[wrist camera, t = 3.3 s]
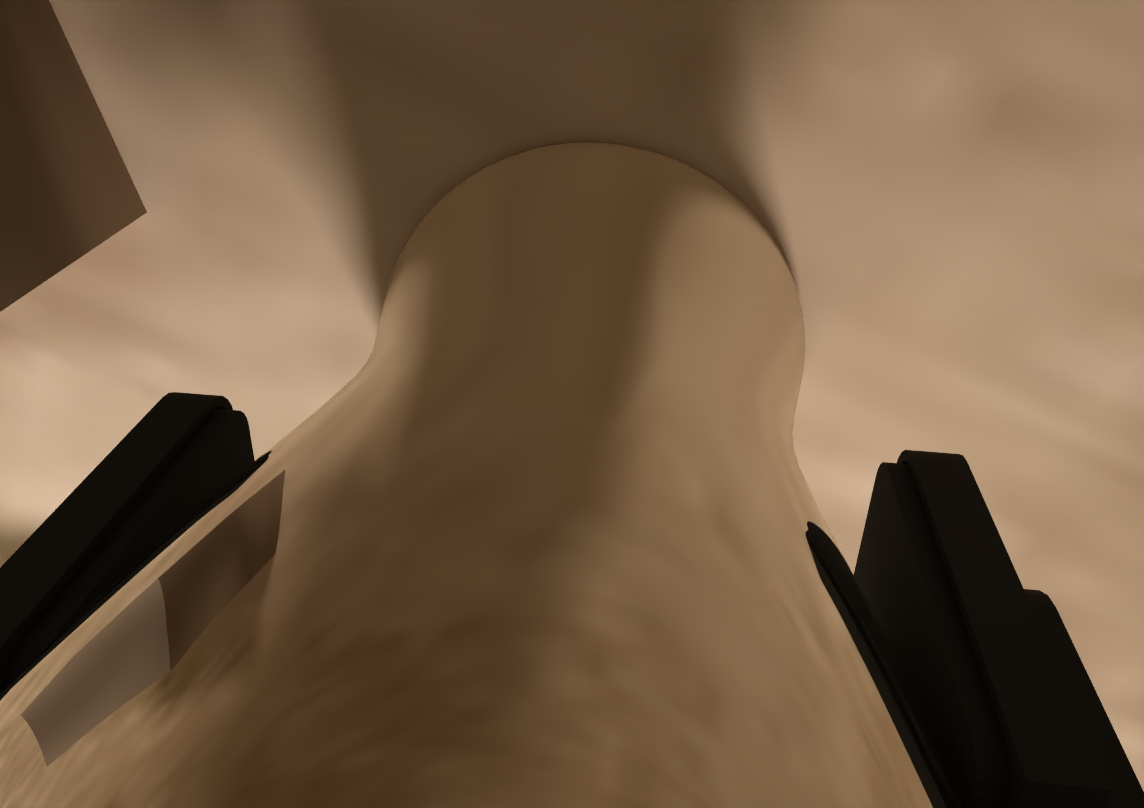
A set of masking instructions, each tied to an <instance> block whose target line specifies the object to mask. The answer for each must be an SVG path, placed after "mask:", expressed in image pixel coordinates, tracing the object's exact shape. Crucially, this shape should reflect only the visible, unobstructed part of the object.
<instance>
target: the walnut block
mask: <svg viewBox="0 0 1144 808" xmlns="http://www.w3.org/2000/svg"><path fill="white" fill-rule="evenodd" d="M145 213H146V210H145V207H144V205H143V203H142V201H141V199H140V197H139V194H138V192H137V190H136V188H135V186H134V184H133V181H132V179H131V177H130V175H129V173H128V171H127V168H126V166H125V164H124V162H123V160H122V158H121V156H120V153H119V151H118V149H117V147H116V145H115V143H114V140H113V138H112V136H111V134H110V132H109V130H108V127H107V125H106V123H105V121H104V119H103V117H102V114H101V112H100V110H99V108H98V106H97V104H96V101H95V99H94V97H93V95H92V93H91V91H90V88H89V86H88V84H87V82H86V80H85V78H84V75H83V73H82V71H81V69H80V67H79V65H78V62H77V60H76V58H75V56H74V54H73V52H72V49H71V47H70V45H69V43H68V41H67V39H66V37H65V34H64V32H63V30H62V28H61V26H60V24H59V21H58V19H57V17H56V15H55V13H54V11H53V8H52V6H51V4H50V2H49V0H0V311H2V310H3V309H5V308H6V307H8V306H9V305H11V304H12V303H14V302H15V301H17V300H18V299H20V298H21V297H23V296H24V295H26V294H27V293H28V292H30V291H31V290H33V289H34V288H36V287H37V286H39V285H40V284H42V283H43V282H45V281H46V280H48V279H49V278H51V277H52V276H54V275H55V274H57V273H58V272H59V271H61V270H62V269H64V268H65V267H67V266H68V265H70V264H71V263H73V262H74V261H76V260H77V259H79V258H80V257H82V256H83V255H85V254H86V253H87V252H89V251H90V250H92V249H93V248H95V247H96V246H98V245H99V244H101V243H102V242H104V241H105V240H107V239H108V238H110V237H111V236H113V235H114V234H116V233H117V232H118V231H120V230H121V229H123V228H124V227H126V226H127V225H129V224H130V223H132V222H133V221H135V220H136V219H138V218H139V217H141V216H142V215H144V214H145Z"/></svg>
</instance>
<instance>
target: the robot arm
mask: <svg viewBox="0 0 1144 808" xmlns="http://www.w3.org/2000/svg"><path fill="white" fill-rule="evenodd" d="M253 462H254V455H253V449H252V443H251V437H250V431H249V425H248V421H247V418H246V416H245V414H244V413H243V412H241V411H235V410H233V409H232V406H231V404H230V402H229V400H228V399H227V398H225V397H223V396H215V395H202V394H190V393H177V392H173V393H168V394H167V395H165V396H164V397H163V398H162V399H161V400H160V401H159V402H158V403H157V404H156V405H155V406H154V407H153V408H152V409H151V410H150V411H149V412H148V413H147V414H146V415H145V416H144V418H143V419H142V420H141V421H140V422H139V423H138V424H137V425H136V426H135V427H134V428H133V429H132V430H131V431H130V432H129V433H128V434H127V435H126V436H125V437H124V439H123V440H122V441H121V442H120V443H119V444H118V445H117V446H116V447H115V448H114V449H113V450H112V451H111V452H110V453H109V454H108V455H107V456H106V457H105V458H104V460H103V461H102V462H101V463H100V464H99V465H98V466H97V467H96V468H95V469H94V470H93V471H92V472H91V473H90V474H89V475H88V476H87V477H86V478H85V479H84V481H83V482H82V483H81V484H80V485H79V486H78V487H77V488H76V489H75V490H74V491H73V492H72V493H71V494H70V495H69V496H68V497H67V498H66V499H65V500H64V501H63V503H62V504H61V505H60V506H59V507H58V508H57V509H56V510H55V511H54V512H53V513H52V514H51V515H50V516H49V517H48V518H47V519H46V520H45V521H44V522H43V524H42V525H41V526H40V527H39V528H38V529H37V530H36V531H35V532H34V533H33V534H32V535H31V536H30V537H29V538H28V539H27V540H26V541H25V542H24V543H23V545H22V546H21V547H20V548H19V549H18V550H17V551H16V552H15V553H14V554H13V555H12V556H11V557H10V558H9V559H8V560H7V561H6V562H5V563H4V564H3V566H2V567H1V568H0V692H1V691H2V690H3V689H4V688H5V687H6V686H7V685H8V684H9V683H10V682H11V681H12V680H13V679H14V678H15V677H16V676H17V675H18V674H19V673H20V672H22V671H23V670H24V669H25V668H26V667H27V666H28V665H29V664H30V663H31V662H32V661H33V660H34V659H35V658H36V657H37V656H38V655H39V654H40V653H41V652H42V651H43V650H45V649H46V648H47V647H48V646H49V645H50V644H51V643H52V642H53V641H54V640H55V639H56V638H57V637H58V636H59V635H60V634H61V633H62V632H63V631H64V630H65V629H66V628H68V627H69V626H70V625H71V624H72V623H73V622H74V621H75V620H76V619H77V618H78V617H79V616H80V615H81V614H82V613H83V612H84V611H85V610H86V609H87V608H88V607H89V606H91V605H92V604H93V603H94V602H95V601H96V600H97V599H98V598H99V597H100V596H101V595H102V594H103V593H104V592H105V591H106V590H107V589H108V588H109V587H110V586H111V585H112V584H114V583H115V582H116V581H117V580H118V579H119V578H120V577H121V576H122V575H123V574H124V573H125V572H126V571H127V570H128V569H129V568H130V567H131V566H133V565H134V564H135V563H136V562H137V561H138V560H139V559H140V558H142V557H143V556H144V555H145V554H146V553H147V552H149V551H150V550H151V549H152V548H153V547H154V546H156V545H157V544H158V543H159V542H160V541H161V540H163V539H164V538H165V537H166V536H167V535H168V534H170V533H171V532H172V531H173V530H174V529H176V528H177V527H178V526H179V525H180V524H181V523H183V522H184V521H185V520H186V519H187V518H188V517H190V516H191V515H192V514H193V513H194V512H195V511H197V510H198V509H199V508H200V507H201V506H202V505H204V504H205V503H206V502H207V501H208V500H209V499H211V498H212V497H213V496H214V495H215V494H217V493H218V492H219V491H220V490H221V489H222V488H224V487H225V486H226V485H227V484H228V483H229V482H231V481H232V480H233V479H234V478H235V477H236V476H238V475H239V474H240V473H241V472H242V471H243V470H245V469H246V468H247V467H248V466H250V465H251V464H252V463H253ZM854 577H855V579H856V581H857V583H858V585H859V587H860V589H861V591H862V593H863V595H864V597H865V599H866V601H867V603H868V605H869V607H870V609H871V611H872V613H873V615H874V617H875V619H876V621H877V623H878V625H879V627H880V629H881V631H882V633H883V635H884V637H885V639H886V641H887V643H888V645H889V647H890V649H891V651H892V653H893V655H894V657H895V659H896V661H897V663H898V665H899V667H900V669H901V671H902V673H903V675H904V677H905V679H906V681H907V683H908V685H909V687H910V689H911V691H912V693H913V695H914V697H915V699H916V701H917V703H918V705H919V707H920V709H921V711H922V713H923V715H924V717H925V719H926V721H927V723H928V725H929V727H930V730H931V732H932V734H933V736H934V738H935V740H936V743H937V745H938V747H939V750H940V752H941V754H942V757H943V759H944V761H945V764H946V766H947V768H948V771H949V773H950V775H951V778H952V780H953V782H954V785H955V787H956V789H957V792H958V794H959V796H960V799H961V801H962V803H963V806H964V808H1144V792H1143V790H1142V788H1141V785H1140V783H1139V781H1138V779H1137V777H1136V775H1135V773H1134V771H1133V769H1132V767H1131V764H1130V762H1129V760H1128V758H1127V756H1126V754H1125V752H1124V750H1123V748H1122V746H1121V743H1120V741H1119V739H1118V737H1117V735H1116V733H1115V731H1114V729H1113V727H1112V725H1111V722H1110V720H1109V718H1108V716H1107V714H1106V712H1105V710H1104V708H1103V706H1102V703H1101V701H1100V699H1099V697H1098V695H1097V693H1096V691H1095V689H1094V687H1093V685H1092V682H1091V680H1090V678H1089V676H1088V674H1087V672H1086V670H1085V668H1084V666H1083V664H1082V661H1081V659H1080V657H1079V655H1078V653H1077V651H1076V649H1075V647H1074V645H1073V643H1072V640H1071V638H1070V636H1069V634H1068V632H1067V630H1066V628H1065V626H1064V624H1063V621H1062V619H1061V617H1060V615H1059V613H1058V611H1057V609H1056V607H1055V605H1054V604H1053V602H1052V601H1051V599H1050V598H1049V596H1048V595H1046V594H1044V593H1043V592H1041V591H1039V590H1028V589H1023V587H1022V584H1021V582H1020V580H1019V578H1018V575H1017V573H1016V571H1015V569H1014V566H1013V564H1012V562H1011V560H1010V557H1009V555H1008V553H1007V551H1006V548H1005V546H1004V544H1003V542H1002V539H1001V537H1000V535H999V533H998V530H997V528H996V526H995V524H994V521H993V519H992V517H991V515H990V512H989V510H988V508H987V506H986V503H985V501H984V499H983V497H982V494H981V492H980V490H979V488H978V485H977V483H976V481H975V479H974V476H973V474H972V472H971V470H970V467H969V465H968V463H967V461H966V459H965V458H964V456H963V455H960V454H950V453H937V452H924V451H912V450H904V451H903V452H902V453H901V454H900V456H899V458H898V461H897V463H885V462H883V463H882V464H880V466H879V468H878V471H877V475H876V479H875V483H874V488H873V492H872V497H871V501H870V505H869V510H868V514H867V519H866V523H865V528H864V532H863V536H862V541H861V545H860V550H859V554H858V559H857V563H856V567H855V572H854Z"/></svg>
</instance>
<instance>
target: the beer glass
mask: <svg viewBox="0 0 1144 808" xmlns="http://www.w3.org/2000/svg"><path fill="white" fill-rule="evenodd" d="M804 359H805V331H804V322H803V314H802V309H801V303H800V299H799V295H798V291H797V288H796V285H795V282H794V279H793V276H792V274H791V272H790V269H789V267H788V265H787V263H786V261H785V259H784V257H783V255H782V253H781V251H780V250H779V248H778V246H777V245H776V243H775V241H774V240H773V238H772V237H771V236H770V234H769V233H768V231H767V230H766V229H765V227H764V226H763V225H762V224H761V222H760V221H759V220H758V219H757V218H756V217H755V216H754V215H753V213H752V212H751V211H750V210H749V209H748V208H747V207H746V206H745V205H744V204H742V203H741V202H740V201H739V200H738V199H737V198H736V197H735V196H733V195H732V194H731V193H730V192H729V191H727V190H726V189H725V188H723V187H722V186H721V185H719V184H718V183H716V182H715V181H713V180H712V179H710V178H709V177H707V176H706V175H704V174H702V173H701V172H699V171H697V170H695V169H693V168H692V167H690V166H687V165H685V164H683V163H681V162H679V161H676V160H674V159H672V158H669V157H666V156H663V155H660V154H657V153H654V152H651V151H647V150H643V149H639V148H635V147H630V146H624V145H618V144H609V143H566V144H557V145H551V146H545V147H540V148H536V149H532V150H528V151H525V152H522V153H518V154H515V155H513V156H510V157H507V158H505V159H503V160H500V161H498V162H496V163H494V164H492V165H490V166H488V167H486V168H484V169H482V170H480V171H479V172H477V173H475V174H474V175H472V176H470V177H469V178H467V179H466V180H464V181H463V182H462V183H460V184H459V185H457V186H456V187H455V188H454V189H452V190H451V191H450V192H449V193H448V194H446V195H445V196H444V197H443V198H442V199H441V200H440V201H439V202H438V203H437V204H436V205H435V206H434V207H433V208H432V209H431V210H430V211H429V212H428V213H427V215H426V216H425V217H424V218H423V219H422V221H421V222H420V223H419V225H418V226H417V227H416V229H415V230H414V232H413V233H412V235H411V237H410V238H409V240H408V242H407V244H406V245H405V247H404V249H403V251H402V253H401V255H400V257H399V258H398V261H397V263H396V265H395V268H394V270H393V273H392V276H391V279H390V282H389V286H388V289H387V292H386V295H385V300H384V304H383V308H382V312H381V316H380V321H379V325H378V330H377V335H376V339H375V344H374V347H373V350H372V353H371V355H370V356H369V358H368V360H367V362H366V364H365V365H364V366H363V367H362V369H361V370H360V371H359V372H358V374H357V375H356V376H355V377H354V378H353V379H352V380H351V381H349V382H348V383H347V384H346V385H345V386H344V387H343V388H342V389H340V390H339V391H338V392H337V393H336V394H335V395H334V396H333V397H332V398H330V399H329V400H328V401H327V402H326V403H325V404H324V405H323V406H322V407H320V408H319V409H318V410H317V411H315V412H314V413H313V414H312V415H311V416H309V417H308V418H307V419H306V420H304V421H303V422H302V423H301V424H300V425H298V426H297V427H296V428H295V429H294V430H292V431H291V432H290V433H289V434H287V435H286V436H285V437H284V438H283V439H281V440H280V441H279V442H278V443H276V444H275V445H274V446H273V447H272V448H270V449H269V450H268V451H267V452H265V453H264V454H263V455H262V456H261V457H259V458H258V459H257V460H256V461H254V462H253V463H252V464H251V465H250V466H248V467H247V468H246V469H245V470H243V471H242V472H241V473H240V474H239V475H238V476H236V477H235V478H234V479H233V480H232V481H231V482H229V483H228V484H227V485H226V486H225V487H224V488H222V489H221V490H220V491H219V492H218V493H217V494H215V495H214V496H213V497H212V498H211V499H209V500H208V501H207V502H206V503H205V504H204V505H202V506H201V507H200V508H199V509H198V510H197V511H195V512H194V513H193V514H192V515H191V516H190V517H188V518H187V519H186V520H185V521H184V522H183V523H181V524H180V525H179V526H178V527H177V528H176V529H174V530H173V531H172V532H171V533H170V534H168V535H167V536H166V537H165V538H164V539H163V540H161V541H160V542H159V543H158V544H157V545H156V546H154V547H153V548H152V549H151V550H150V551H149V552H147V553H146V554H145V555H144V556H143V557H142V558H140V559H139V560H138V561H137V562H136V563H135V564H134V565H133V566H131V567H130V568H129V569H128V570H127V571H126V572H125V573H124V574H123V575H122V576H121V577H120V578H119V579H118V580H117V581H116V582H115V583H114V584H112V585H111V586H110V587H109V588H108V589H107V590H106V591H105V592H104V593H103V594H102V595H101V596H100V597H99V598H98V599H97V600H96V601H95V602H94V603H93V604H92V605H91V606H89V607H88V608H87V609H86V610H85V611H84V612H83V613H82V614H81V615H80V616H79V617H78V618H77V619H76V620H75V621H74V622H73V623H72V624H71V625H70V626H69V627H68V628H66V629H65V630H64V631H63V632H62V633H61V634H60V635H59V636H58V637H57V638H56V639H55V640H54V641H53V642H52V643H51V644H50V645H49V646H48V647H47V648H46V649H45V650H43V651H42V652H41V653H40V654H39V655H38V656H37V657H36V658H35V659H34V660H33V661H32V662H31V663H30V664H29V665H28V666H27V667H26V668H25V669H24V670H23V671H22V672H20V673H19V674H18V675H17V676H16V677H15V678H14V679H13V680H12V681H11V682H10V683H9V684H8V685H7V686H6V687H5V688H4V689H3V690H2V691H1V692H0V808H964V806H963V803H962V801H961V799H960V796H959V794H958V792H957V789H956V787H955V785H954V782H953V780H952V778H951V775H950V773H949V771H948V768H947V766H946V764H945V761H944V759H943V757H942V754H941V752H940V750H939V747H938V745H937V743H936V740H935V738H934V736H933V734H932V732H931V730H930V727H929V725H928V723H927V721H926V719H925V717H924V715H923V713H922V711H921V709H920V707H919V705H918V703H917V701H916V699H915V697H914V695H913V693H912V691H911V689H910V687H909V685H908V683H907V681H906V679H905V677H904V675H903V673H902V671H901V669H900V667H899V665H898V663H897V661H896V659H895V657H894V655H893V653H892V651H891V649H890V647H889V645H888V643H887V641H886V639H885V637H884V635H883V633H882V631H881V629H880V627H879V625H878V623H877V621H876V619H875V617H874V615H873V613H872V611H871V609H870V607H869V605H868V603H867V601H866V599H865V597H864V595H863V593H862V591H861V589H860V587H859V585H858V583H857V581H856V579H855V577H854V575H853V574H852V572H851V570H850V568H849V566H848V564H847V562H846V560H845V558H844V556H843V554H842V552H841V551H840V549H839V547H838V545H837V543H836V541H835V539H834V537H833V535H832V533H831V531H830V529H829V527H828V526H827V524H826V522H825V520H824V518H823V516H822V514H821V512H820V510H819V508H818V506H817V504H816V502H815V500H814V497H813V495H812V493H811V491H810V489H809V487H808V484H807V482H806V480H805V478H804V476H803V474H802V471H801V469H800V467H799V464H798V460H797V456H796V453H795V449H794V443H793V424H794V416H795V411H796V406H797V401H798V396H799V391H800V385H801V380H802V374H803V368H804Z"/></svg>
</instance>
